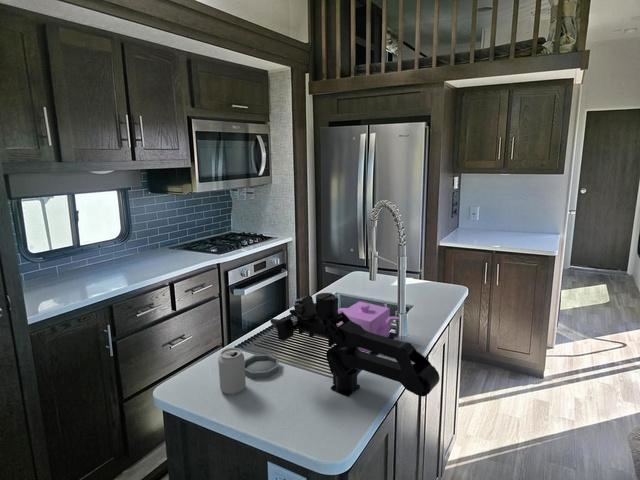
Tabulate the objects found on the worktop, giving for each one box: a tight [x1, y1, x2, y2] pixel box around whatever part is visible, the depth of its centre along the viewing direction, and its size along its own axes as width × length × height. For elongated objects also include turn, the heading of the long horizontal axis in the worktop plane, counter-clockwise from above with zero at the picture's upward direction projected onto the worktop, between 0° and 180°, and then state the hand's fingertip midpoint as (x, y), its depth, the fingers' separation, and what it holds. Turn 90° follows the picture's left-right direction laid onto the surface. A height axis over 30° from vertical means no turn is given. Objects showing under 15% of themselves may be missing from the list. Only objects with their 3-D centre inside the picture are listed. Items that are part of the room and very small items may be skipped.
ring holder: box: [244, 353, 280, 380], centre depth 137 cm, size 12×12×2 cm
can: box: [217, 347, 246, 395], centre depth 124 cm, size 8×8×12 cm
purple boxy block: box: [337, 301, 400, 354], centre depth 154 cm, size 15×25×14 cm, turn 55°
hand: (280, 315), depth 137 cm, fingers open, 9 cm apart
